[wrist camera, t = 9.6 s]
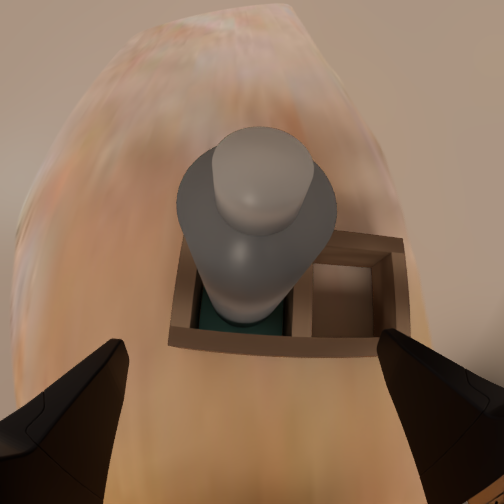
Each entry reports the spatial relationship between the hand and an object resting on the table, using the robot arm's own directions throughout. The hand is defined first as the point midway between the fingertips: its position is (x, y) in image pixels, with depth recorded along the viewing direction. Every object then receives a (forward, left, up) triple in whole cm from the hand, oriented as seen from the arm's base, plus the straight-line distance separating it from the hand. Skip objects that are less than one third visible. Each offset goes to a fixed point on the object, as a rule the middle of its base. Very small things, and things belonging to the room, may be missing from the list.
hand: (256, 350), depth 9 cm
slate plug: (+4, 0, -10) cm, 11 cm away
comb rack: (+4, -3, -11) cm, 12 cm away
